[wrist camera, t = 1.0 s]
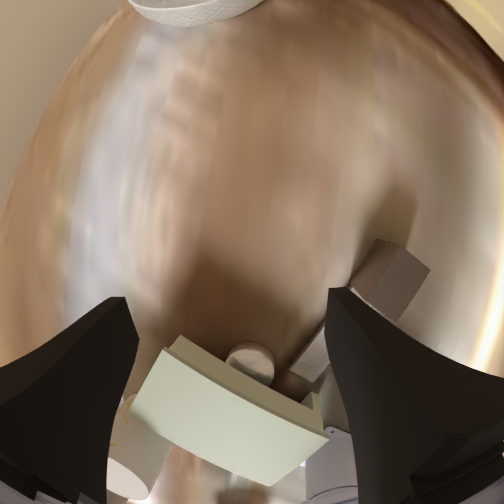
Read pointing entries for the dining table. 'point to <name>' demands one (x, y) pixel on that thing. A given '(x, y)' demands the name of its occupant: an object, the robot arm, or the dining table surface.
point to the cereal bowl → (191, 10)
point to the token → (253, 361)
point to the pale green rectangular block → (227, 415)
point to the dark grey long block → (370, 297)
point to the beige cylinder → (134, 455)
